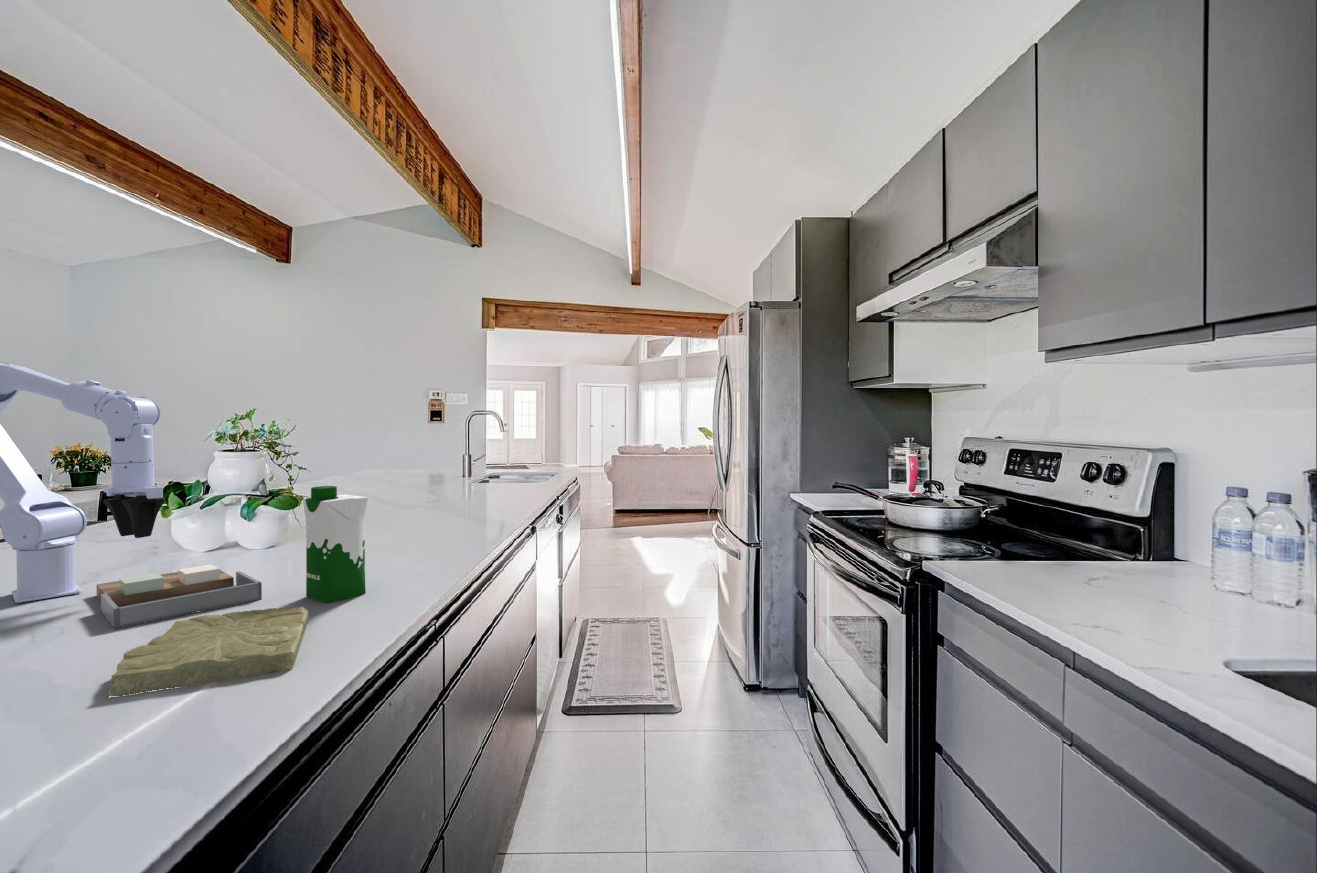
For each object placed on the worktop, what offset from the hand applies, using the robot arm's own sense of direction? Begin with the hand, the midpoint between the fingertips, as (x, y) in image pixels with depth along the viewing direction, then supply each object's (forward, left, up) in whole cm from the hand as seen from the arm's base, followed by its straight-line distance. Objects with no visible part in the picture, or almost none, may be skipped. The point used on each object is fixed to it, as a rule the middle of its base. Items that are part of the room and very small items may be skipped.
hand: (135, 536), depth 103 cm
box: (+16, +4, -10) cm, 20 cm away
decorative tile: (+46, +2, -11) cm, 47 cm away
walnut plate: (+4, +4, -10) cm, 12 cm away
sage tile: (+7, 0, -8) cm, 11 cm away
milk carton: (+30, +23, -11) cm, 39 cm away
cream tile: (+7, +8, -8) cm, 13 cm away
